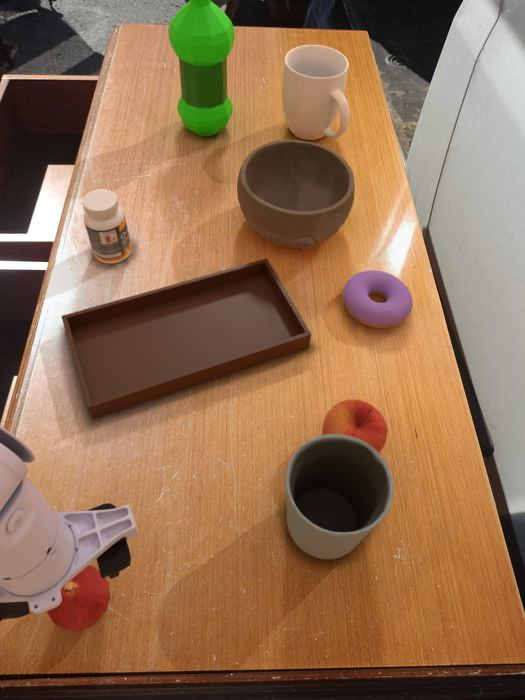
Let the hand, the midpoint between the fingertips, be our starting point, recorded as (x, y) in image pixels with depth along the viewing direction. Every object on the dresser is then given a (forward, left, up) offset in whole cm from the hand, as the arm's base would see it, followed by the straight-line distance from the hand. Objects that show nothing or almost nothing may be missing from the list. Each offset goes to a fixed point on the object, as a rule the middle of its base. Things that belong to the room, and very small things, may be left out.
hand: (69, 584), depth 48 cm
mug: (+56, +65, -10) cm, 86 cm away
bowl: (+42, +44, -10) cm, 62 cm away
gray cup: (+25, -1, -10) cm, 27 cm away
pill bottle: (+14, +48, -10) cm, 51 cm away
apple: (+32, +6, -10) cm, 34 cm away
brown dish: (+20, +28, -10) cm, 36 cm away
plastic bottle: (+38, +73, -10) cm, 83 cm away
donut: (+46, +24, -10) cm, 53 cm away
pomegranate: (-1, 0, -10) cm, 10 cm away
